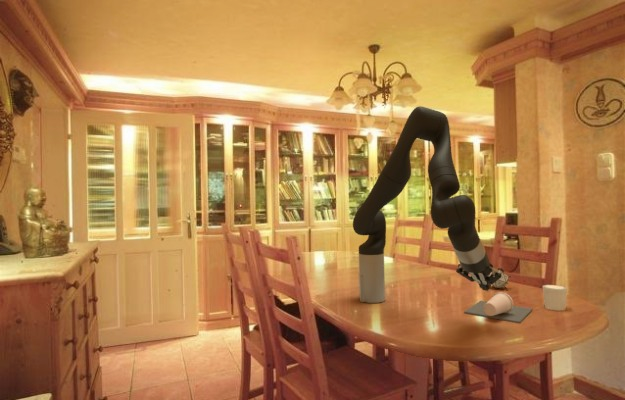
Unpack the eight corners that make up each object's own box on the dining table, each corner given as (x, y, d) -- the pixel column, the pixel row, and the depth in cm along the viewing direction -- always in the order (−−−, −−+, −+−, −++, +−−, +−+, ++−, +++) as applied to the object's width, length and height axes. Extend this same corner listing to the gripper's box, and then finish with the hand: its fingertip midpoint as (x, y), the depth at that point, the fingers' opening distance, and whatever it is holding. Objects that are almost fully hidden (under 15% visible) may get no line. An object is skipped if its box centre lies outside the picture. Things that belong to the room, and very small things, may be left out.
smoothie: (504, 307, 107) (522, 296, 116) (483, 294, 111) (503, 285, 120) (495, 324, 109) (514, 313, 118) (475, 311, 113) (495, 301, 122)
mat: (519, 323, 107) (519, 321, 107) (464, 313, 118) (464, 311, 118) (532, 310, 119) (532, 308, 119) (480, 301, 130) (480, 300, 130)
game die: (503, 298, 146) (516, 281, 141) (482, 290, 148) (493, 273, 142) (502, 283, 154) (513, 266, 148) (481, 275, 155) (492, 259, 149)
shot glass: (560, 312, 116) (559, 290, 116) (538, 307, 122) (537, 286, 122) (572, 309, 119) (571, 287, 119) (550, 304, 125) (549, 283, 125)
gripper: (499, 243, 99) (512, 280, 108) (450, 240, 107) (466, 275, 117) (493, 265, 95) (508, 302, 104) (443, 260, 104) (460, 295, 113)
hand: (486, 288), depth 110 cm, fingers closed
